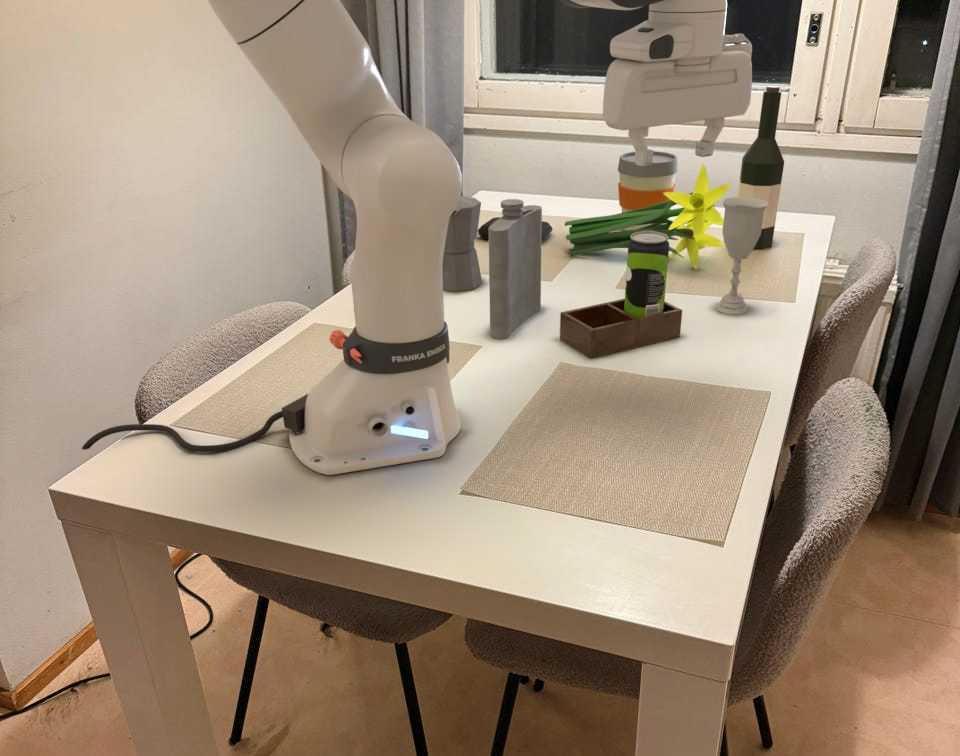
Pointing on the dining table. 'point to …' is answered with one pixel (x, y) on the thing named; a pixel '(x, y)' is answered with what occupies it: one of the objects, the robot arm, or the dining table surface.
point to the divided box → (616, 328)
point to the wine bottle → (764, 166)
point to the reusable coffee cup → (645, 181)
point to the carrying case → (484, 228)
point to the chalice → (740, 242)
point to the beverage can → (646, 273)
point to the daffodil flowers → (656, 223)
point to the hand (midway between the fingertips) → (674, 160)
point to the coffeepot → (462, 247)
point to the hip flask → (514, 266)
